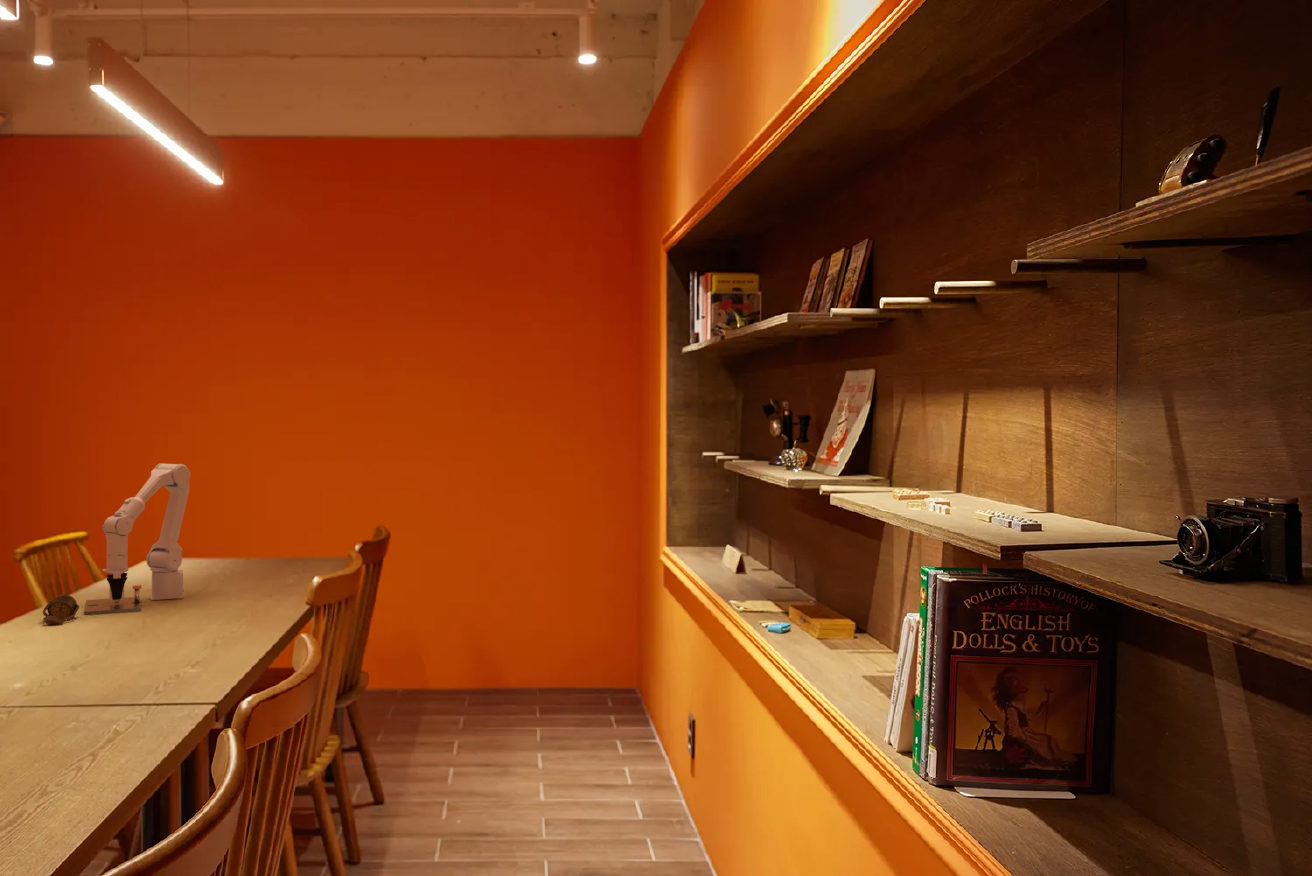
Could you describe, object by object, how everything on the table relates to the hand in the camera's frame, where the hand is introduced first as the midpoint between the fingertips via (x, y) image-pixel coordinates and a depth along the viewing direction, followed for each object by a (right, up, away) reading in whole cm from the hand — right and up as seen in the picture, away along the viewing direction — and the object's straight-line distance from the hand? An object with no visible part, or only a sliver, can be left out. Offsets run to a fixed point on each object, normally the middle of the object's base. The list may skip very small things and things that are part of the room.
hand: (116, 598), depth 301 cm
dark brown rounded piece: (-5, -4, -21) cm, 22 cm away
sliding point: (0, -1, 0) cm, 1 cm away
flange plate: (-1, -3, 0) cm, 3 cm away
